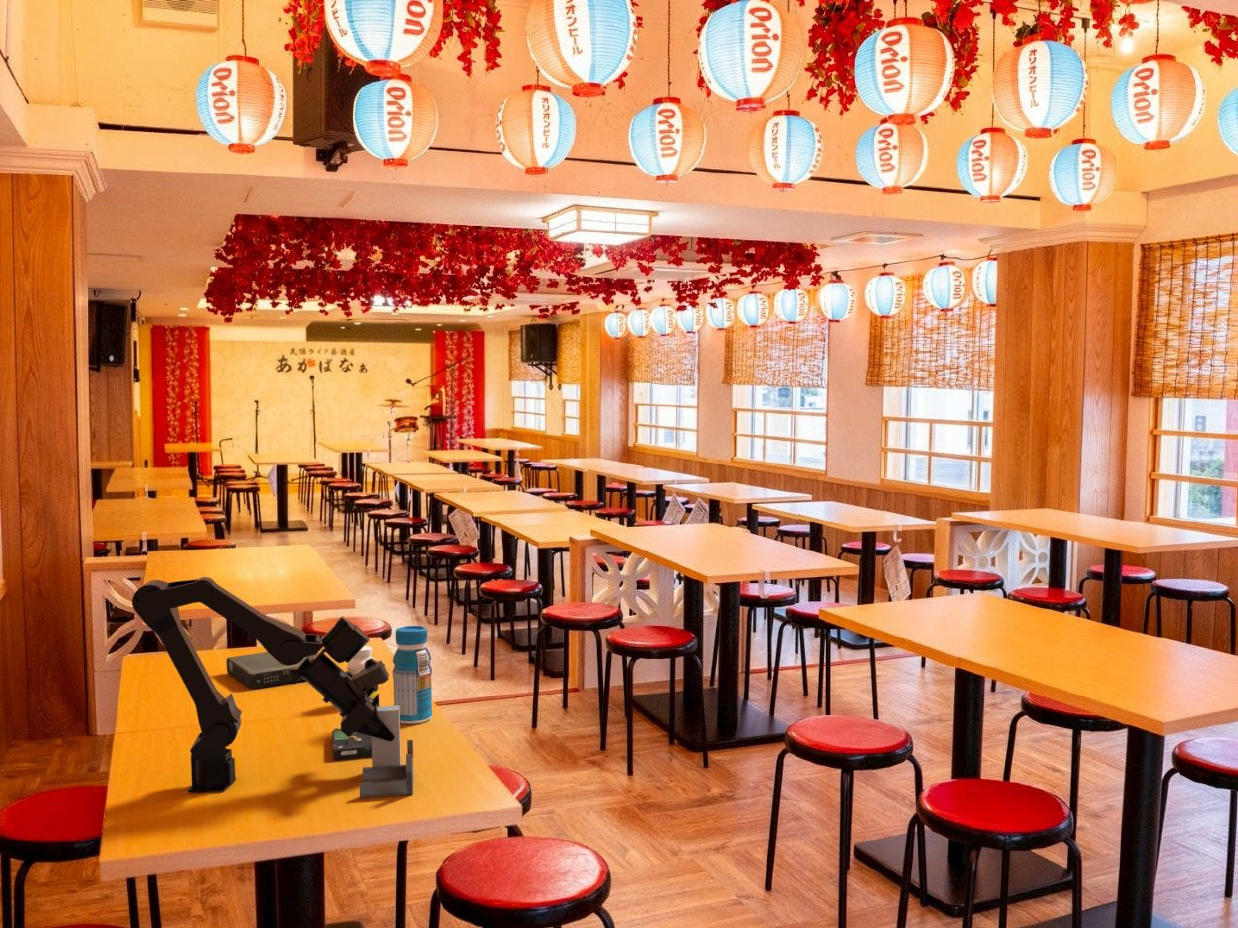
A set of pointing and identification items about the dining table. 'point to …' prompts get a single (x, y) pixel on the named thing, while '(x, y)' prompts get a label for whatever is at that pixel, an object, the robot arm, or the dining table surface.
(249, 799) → the dining table surface
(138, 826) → the dining table surface
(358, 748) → the disk drive
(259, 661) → the network switch
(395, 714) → the grey block
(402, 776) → the rack
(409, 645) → the beverage bottle
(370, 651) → the supplement bottle
